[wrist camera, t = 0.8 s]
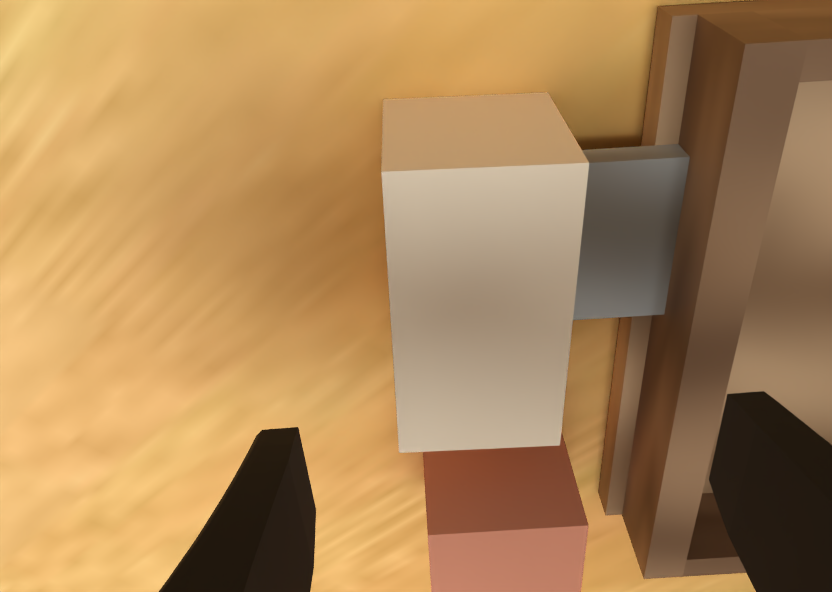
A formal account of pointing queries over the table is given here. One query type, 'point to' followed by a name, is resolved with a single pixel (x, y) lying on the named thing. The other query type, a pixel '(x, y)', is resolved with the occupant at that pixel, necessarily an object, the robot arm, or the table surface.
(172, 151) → the table surface
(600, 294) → the jig
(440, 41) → the table surface
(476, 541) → the block
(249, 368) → the table surface
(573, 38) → the table surface
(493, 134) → the cream rectangular block
